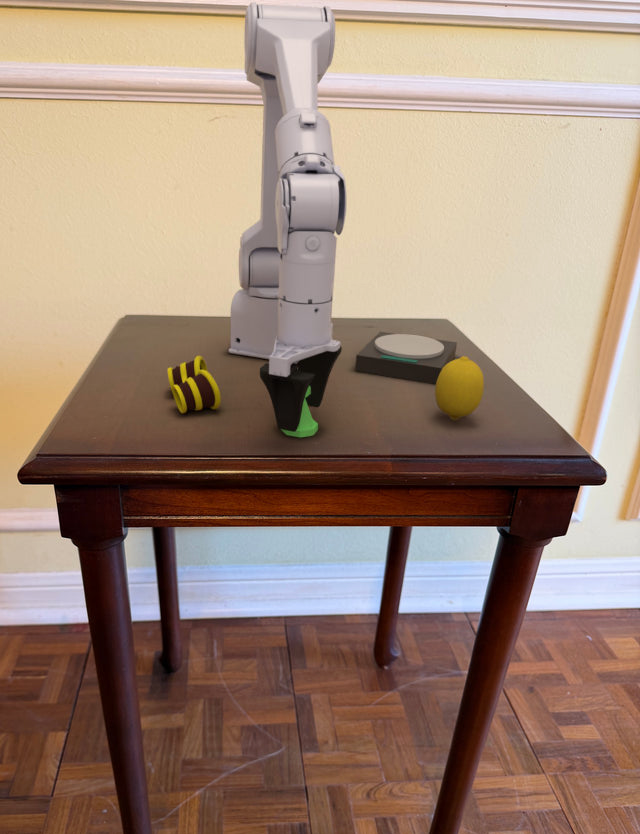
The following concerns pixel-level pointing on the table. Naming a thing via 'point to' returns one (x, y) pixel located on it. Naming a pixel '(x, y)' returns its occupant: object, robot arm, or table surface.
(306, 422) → the game piece
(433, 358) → the scale
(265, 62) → the robot arm
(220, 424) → the table surface
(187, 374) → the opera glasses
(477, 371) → the lemon
